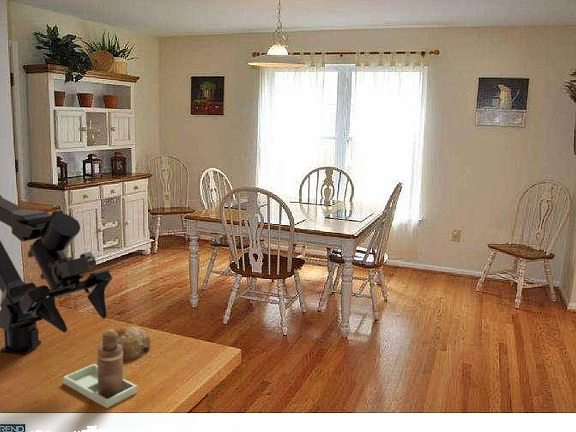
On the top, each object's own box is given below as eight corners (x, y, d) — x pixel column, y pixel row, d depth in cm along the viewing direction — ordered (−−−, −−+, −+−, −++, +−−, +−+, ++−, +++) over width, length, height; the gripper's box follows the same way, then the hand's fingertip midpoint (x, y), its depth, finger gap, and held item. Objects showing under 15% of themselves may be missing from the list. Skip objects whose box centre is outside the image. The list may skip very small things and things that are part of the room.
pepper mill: (93, 398, 105) (92, 333, 102) (105, 385, 110) (104, 323, 107) (116, 401, 105) (116, 336, 102) (127, 388, 109) (126, 326, 107)
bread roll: (130, 377, 122) (143, 350, 120) (93, 354, 123) (106, 327, 121) (149, 358, 131) (162, 333, 129) (115, 336, 132) (127, 311, 130)
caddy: (63, 385, 110) (63, 376, 110) (94, 371, 116) (94, 363, 116) (106, 410, 102) (106, 401, 102) (137, 394, 108) (137, 385, 108)
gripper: (23, 250, 101) (59, 319, 97) (106, 234, 116) (140, 293, 112) (5, 280, 107) (37, 346, 103) (86, 261, 122) (117, 318, 118)
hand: (86, 324), depth 109 cm, fingers open, 9 cm apart
